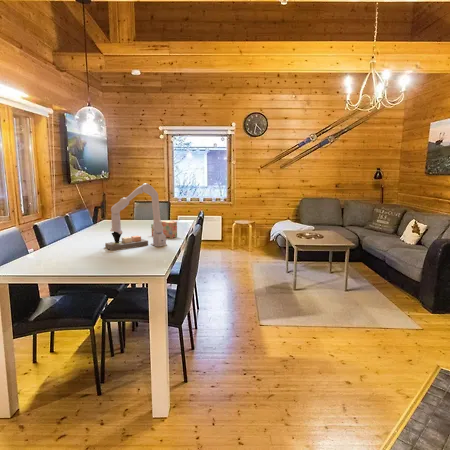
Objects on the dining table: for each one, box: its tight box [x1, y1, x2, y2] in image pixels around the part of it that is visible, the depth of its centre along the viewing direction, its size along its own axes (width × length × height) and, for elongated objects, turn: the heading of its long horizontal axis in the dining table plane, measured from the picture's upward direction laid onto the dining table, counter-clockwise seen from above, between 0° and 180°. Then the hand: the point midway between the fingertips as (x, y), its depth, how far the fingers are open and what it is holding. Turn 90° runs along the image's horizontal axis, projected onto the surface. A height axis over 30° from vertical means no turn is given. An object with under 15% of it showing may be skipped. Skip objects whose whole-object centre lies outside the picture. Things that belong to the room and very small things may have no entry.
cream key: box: [121, 236, 132, 243], centre depth 244 cm, size 5×5×3 cm
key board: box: [104, 238, 149, 251], centre depth 244 cm, size 12×26×3 cm, turn 129°
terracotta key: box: [130, 235, 142, 242], centre depth 248 cm, size 5×5×3 cm
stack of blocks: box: [150, 220, 178, 239], centre depth 279 cm, size 21×6×12 cm, turn 60°
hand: (117, 243), depth 239 cm, fingers closed, pressing on green key
